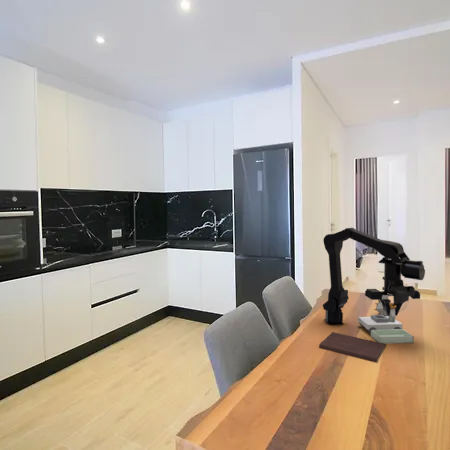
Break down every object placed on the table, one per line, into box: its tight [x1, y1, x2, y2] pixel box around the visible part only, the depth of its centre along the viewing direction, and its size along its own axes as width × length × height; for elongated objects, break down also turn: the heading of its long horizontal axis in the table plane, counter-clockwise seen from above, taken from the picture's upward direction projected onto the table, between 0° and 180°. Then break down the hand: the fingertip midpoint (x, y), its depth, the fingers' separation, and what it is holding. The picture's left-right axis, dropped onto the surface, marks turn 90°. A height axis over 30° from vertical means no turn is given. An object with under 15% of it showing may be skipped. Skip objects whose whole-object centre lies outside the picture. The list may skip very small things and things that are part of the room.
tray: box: [370, 328, 415, 344], centre depth 126 cm, size 13×7×2 cm, turn 91°
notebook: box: [318, 331, 387, 363], centre depth 120 cm, size 15×20×2 cm
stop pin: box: [388, 302, 397, 322], centre depth 125 cm, size 3×3×7 cm
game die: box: [373, 300, 392, 316], centre depth 151 cm, size 9×8×10 cm
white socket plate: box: [357, 314, 403, 335], centre depth 135 cm, size 14×10×6 cm
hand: (391, 315), depth 125 cm, fingers closed on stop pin, 3 cm apart
